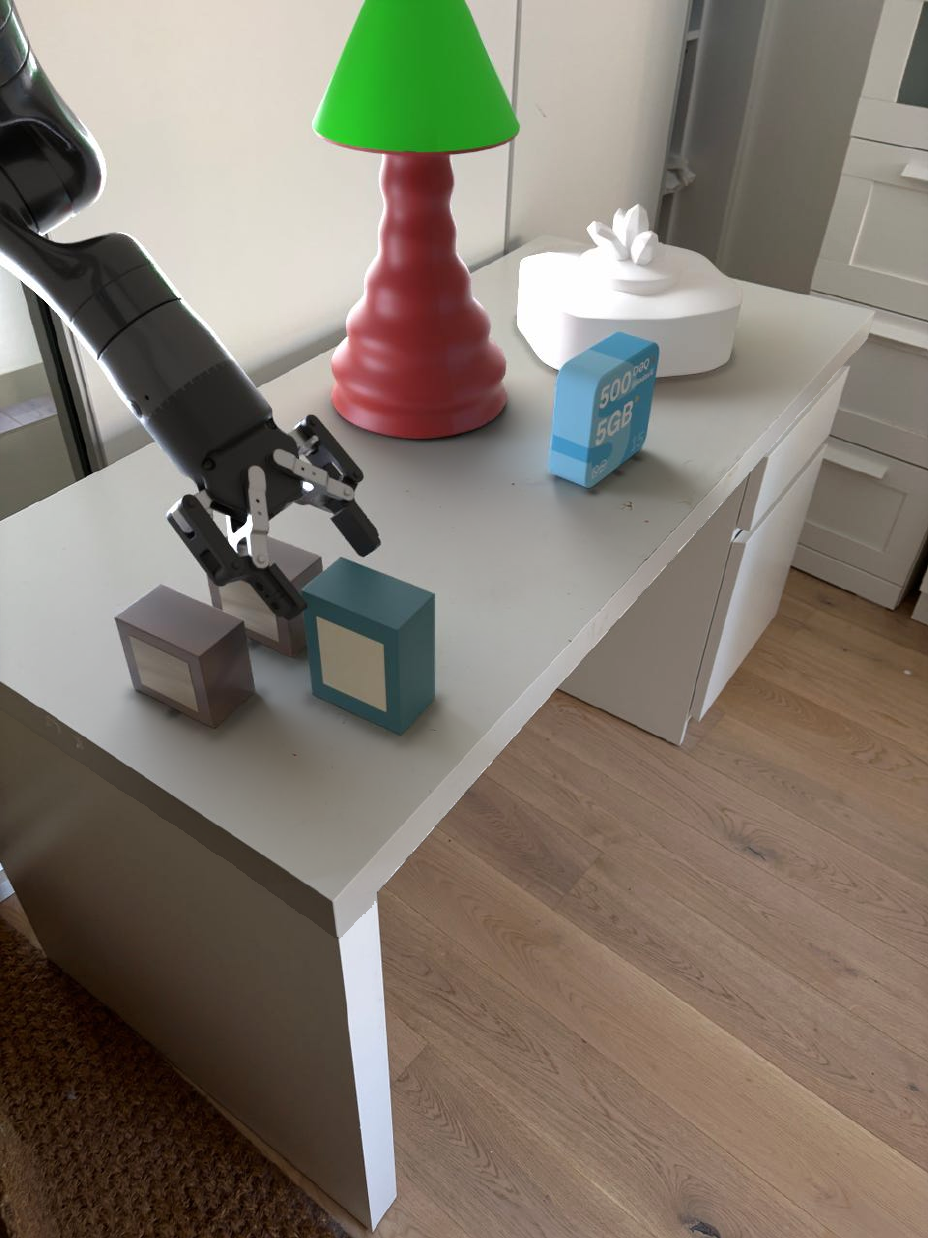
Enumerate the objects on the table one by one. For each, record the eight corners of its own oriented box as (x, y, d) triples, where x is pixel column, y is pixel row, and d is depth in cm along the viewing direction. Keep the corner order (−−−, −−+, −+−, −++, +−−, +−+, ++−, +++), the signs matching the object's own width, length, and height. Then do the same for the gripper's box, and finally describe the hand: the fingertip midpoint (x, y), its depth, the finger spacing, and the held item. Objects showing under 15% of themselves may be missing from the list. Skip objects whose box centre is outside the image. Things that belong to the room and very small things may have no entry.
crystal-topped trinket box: (558, 386, 112) (571, 246, 102) (501, 304, 131) (507, 178, 120) (754, 368, 117) (786, 232, 107) (673, 291, 136) (693, 169, 125)
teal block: (400, 736, 69) (397, 630, 63) (312, 694, 72) (300, 590, 66) (435, 697, 72) (435, 593, 66) (348, 659, 76) (340, 556, 69)
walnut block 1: (213, 729, 70) (198, 657, 65) (133, 688, 73) (113, 617, 68) (256, 691, 73) (244, 620, 68) (176, 653, 76) (160, 582, 71)
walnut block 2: (292, 658, 76) (283, 588, 71) (214, 623, 79) (201, 553, 74) (328, 625, 79) (322, 556, 74) (252, 593, 82) (241, 524, 77)
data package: (584, 494, 95) (597, 380, 87) (546, 478, 97) (556, 366, 89) (645, 446, 102) (662, 338, 94) (609, 433, 104) (622, 326, 96)
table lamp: (366, 457, 99) (338, -83, 70) (309, 376, 113) (266, -103, 84) (537, 422, 106) (576, -86, 77) (463, 350, 119) (473, -104, 91)
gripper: (128, 405, 57) (300, 621, 60) (281, 323, 66) (424, 512, 69) (85, 459, 62) (245, 654, 65) (233, 376, 72) (366, 549, 75)
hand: (337, 581), depth 67 cm, fingers open, 8 cm apart
